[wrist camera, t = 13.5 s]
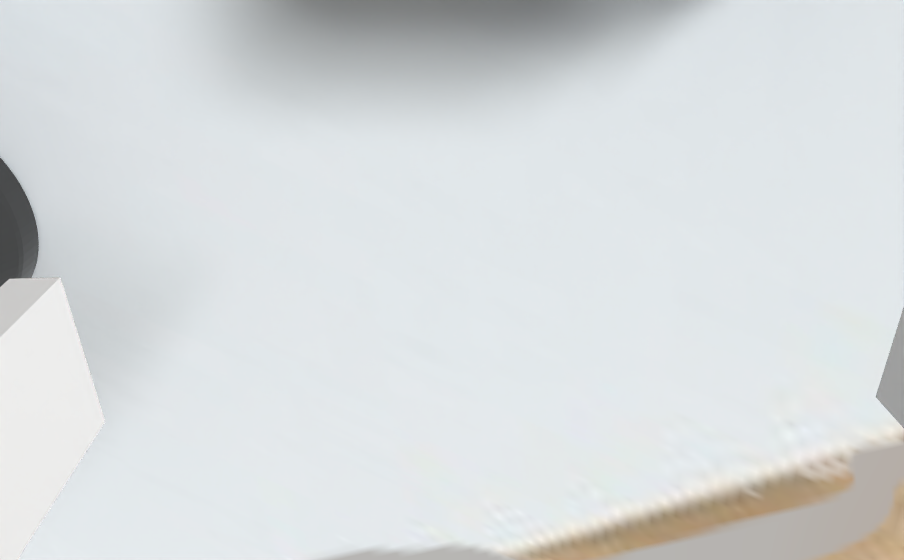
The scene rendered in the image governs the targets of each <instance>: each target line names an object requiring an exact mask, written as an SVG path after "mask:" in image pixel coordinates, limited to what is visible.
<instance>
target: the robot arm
mask: <svg viewBox="0 0 904 560" xmlns="http://www.w3.org/2000/svg"><path fill="white" fill-rule="evenodd" d="M37 257H38V232H37V226H36V221H35V217H34V214H33V211H32V208H31V206H30V203H29V201H28V199H27V196H26V194H25V192H24V191H23V189H22V187H21V185H20V184H19V182H18V180H17V179H16V177H15V176H14V174H13V173H12V172H11V170H10V169H9V168H8V166H7V165H6V164H5V163H4V162H3V160H2V159H1V158H0V560H18V559H19V557H20V556H21V554H22V553H23V551H24V549H25V548H26V546H27V545H28V543H29V542H30V540H31V538H32V537H33V535H34V534H35V532H36V530H37V529H38V527H39V526H40V524H41V523H42V521H43V519H44V518H45V516H46V515H47V513H48V512H49V510H50V508H51V507H52V505H53V504H54V502H55V501H56V499H57V497H58V496H59V494H60V493H61V491H62V489H63V488H64V486H65V485H66V483H67V482H68V480H69V478H70V477H71V475H72V474H73V472H74V471H75V469H76V467H77V466H78V464H79V463H80V461H81V460H82V458H83V456H84V455H85V453H86V452H87V450H88V448H89V447H90V445H91V444H92V442H93V441H94V439H95V437H96V436H97V434H98V433H99V431H100V430H101V428H102V426H103V425H104V423H105V418H104V415H103V412H102V409H101V406H100V402H99V399H98V396H97V393H96V390H95V386H94V383H93V380H92V377H91V373H90V370H89V367H88V364H87V361H86V357H85V354H84V351H83V348H82V345H81V341H80V338H79V335H78V332H77V329H76V325H75V322H74V319H73V316H72V313H71V309H70V306H69V303H68V300H67V297H66V293H65V290H64V287H63V284H62V281H61V277H52V278H31V277H32V275H33V272H34V269H35V266H36V262H37ZM876 398H877V399H878V400H879V401H880V402H881V403H882V404H883V406H884V407H885V408H886V409H887V410H888V411H889V412H890V413H891V415H892V416H893V417H894V418H895V419H896V420H897V421H898V422H899V423H900V425H901V426H902V427H903V428H904V308H903V311H902V314H901V318H900V321H899V324H898V327H897V330H896V334H895V337H894V340H893V343H892V346H891V350H890V353H889V356H888V359H887V362H886V365H885V369H884V372H883V375H882V378H881V381H880V385H879V388H878V391H877V394H876Z"/></svg>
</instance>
